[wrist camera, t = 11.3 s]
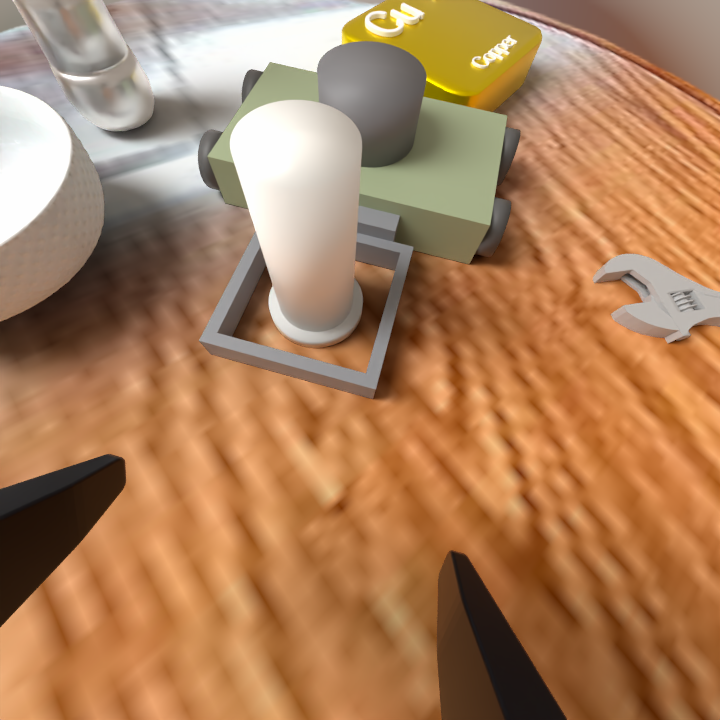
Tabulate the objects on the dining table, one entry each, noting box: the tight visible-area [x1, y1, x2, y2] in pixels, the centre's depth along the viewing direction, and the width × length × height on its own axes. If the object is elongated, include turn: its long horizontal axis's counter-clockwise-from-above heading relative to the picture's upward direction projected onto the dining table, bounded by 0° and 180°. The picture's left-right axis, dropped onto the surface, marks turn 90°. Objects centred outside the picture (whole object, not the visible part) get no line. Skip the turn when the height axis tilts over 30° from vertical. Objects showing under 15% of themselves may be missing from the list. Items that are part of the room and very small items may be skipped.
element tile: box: [342, 0, 542, 112], centre depth 34 cm, size 15×15×5 cm
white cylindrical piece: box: [230, 100, 363, 348], centre depth 18 cm, size 6×6×12 cm
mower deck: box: [198, 41, 520, 399], centre depth 23 cm, size 24×22×8 cm
